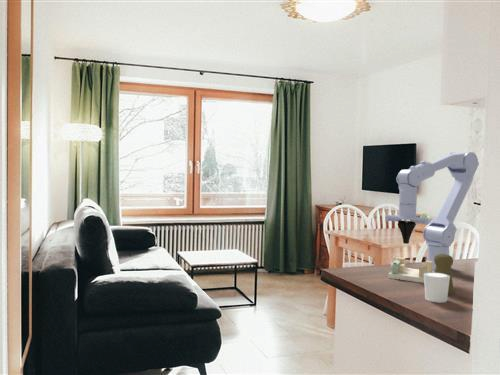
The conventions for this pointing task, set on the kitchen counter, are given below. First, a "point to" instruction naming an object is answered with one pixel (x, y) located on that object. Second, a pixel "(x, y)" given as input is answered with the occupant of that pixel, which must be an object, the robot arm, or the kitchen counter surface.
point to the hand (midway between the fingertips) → (406, 243)
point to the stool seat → (412, 272)
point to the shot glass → (436, 286)
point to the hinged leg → (395, 266)
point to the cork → (444, 268)
